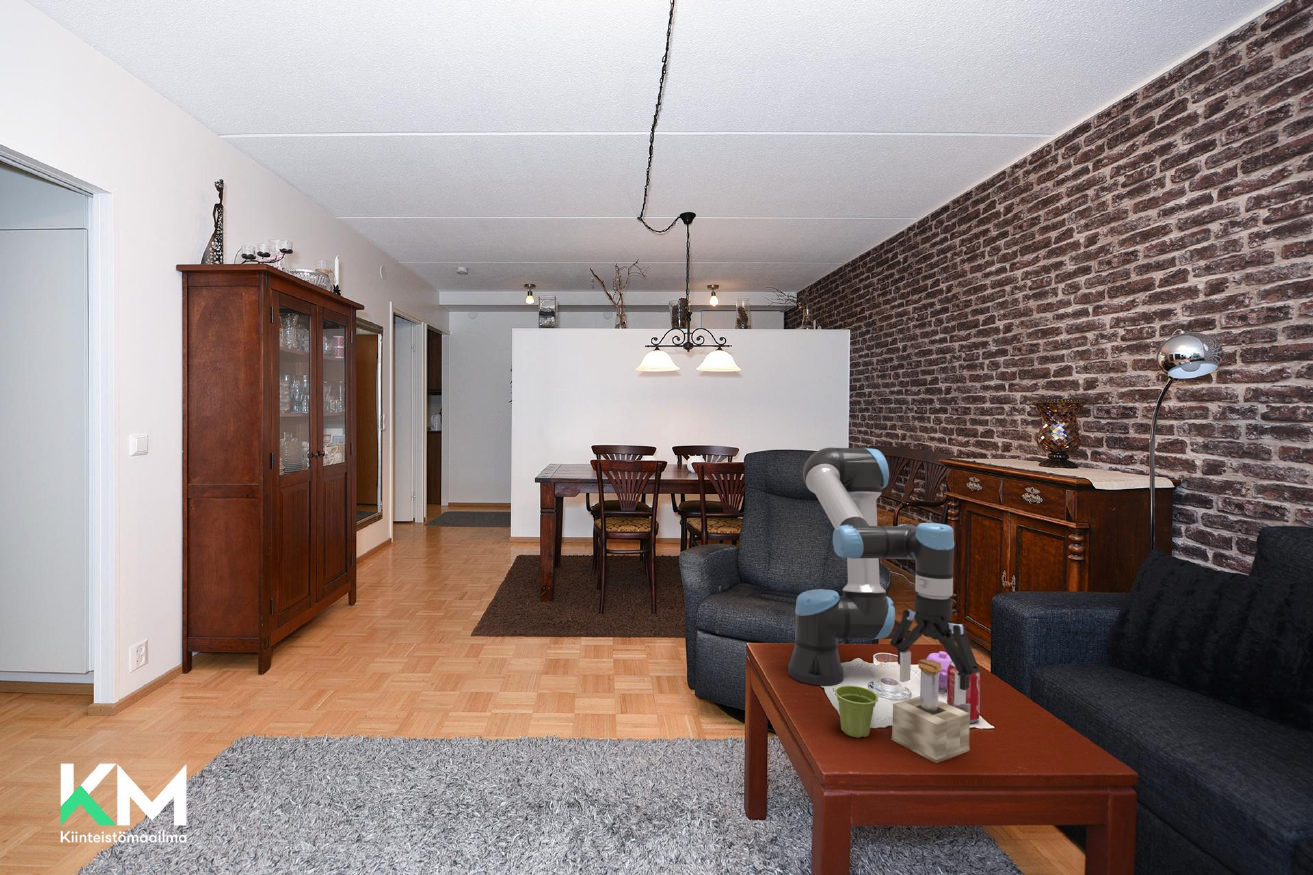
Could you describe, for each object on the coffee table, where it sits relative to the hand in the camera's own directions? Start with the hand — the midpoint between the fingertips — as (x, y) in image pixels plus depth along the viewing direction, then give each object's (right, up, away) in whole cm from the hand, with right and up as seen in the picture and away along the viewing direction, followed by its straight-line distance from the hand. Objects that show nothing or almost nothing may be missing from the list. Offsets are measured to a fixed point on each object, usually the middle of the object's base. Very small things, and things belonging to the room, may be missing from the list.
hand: (931, 691), depth 135 cm
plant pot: (-15, -12, +5) cm, 20 cm away
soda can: (+14, -12, +14) cm, 23 cm away
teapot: (+17, -12, +32) cm, 38 cm away
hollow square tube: (0, -12, 0) cm, 12 cm away
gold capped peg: (-1, -11, 0) cm, 11 cm away
